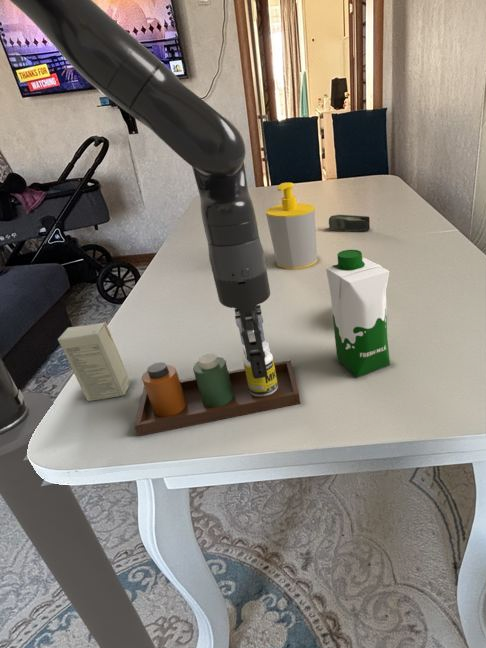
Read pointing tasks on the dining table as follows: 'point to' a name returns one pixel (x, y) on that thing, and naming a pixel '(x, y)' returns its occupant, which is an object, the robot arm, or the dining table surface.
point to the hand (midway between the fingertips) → (259, 367)
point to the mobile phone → (349, 223)
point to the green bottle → (213, 380)
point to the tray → (236, 407)
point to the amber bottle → (164, 389)
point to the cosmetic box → (95, 361)
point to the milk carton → (359, 312)
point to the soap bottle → (292, 231)
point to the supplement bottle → (265, 384)
